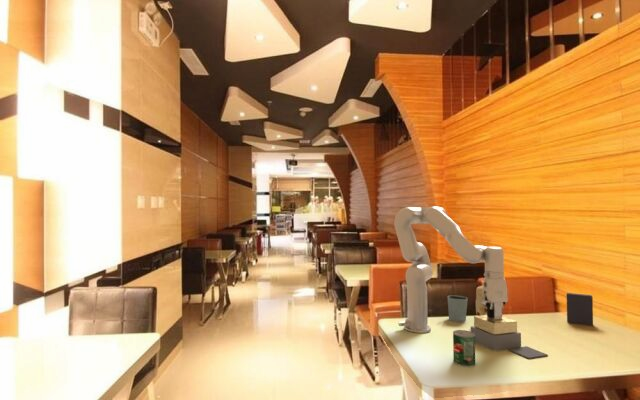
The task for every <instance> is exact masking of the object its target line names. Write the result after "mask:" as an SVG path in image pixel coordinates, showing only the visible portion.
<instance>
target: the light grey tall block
mask: <svg viewBox="0 0 640 400" xmlns="http://www.w3.org/2000/svg"><path fill="white" fill-rule="evenodd" d="M489 305H490V303H489ZM492 309H494V318H493V319H492V318H489V317H488V319H491V320H494V321H497V320H502V316H503V308H502V302H496V303H493V308H492Z"/></svg>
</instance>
